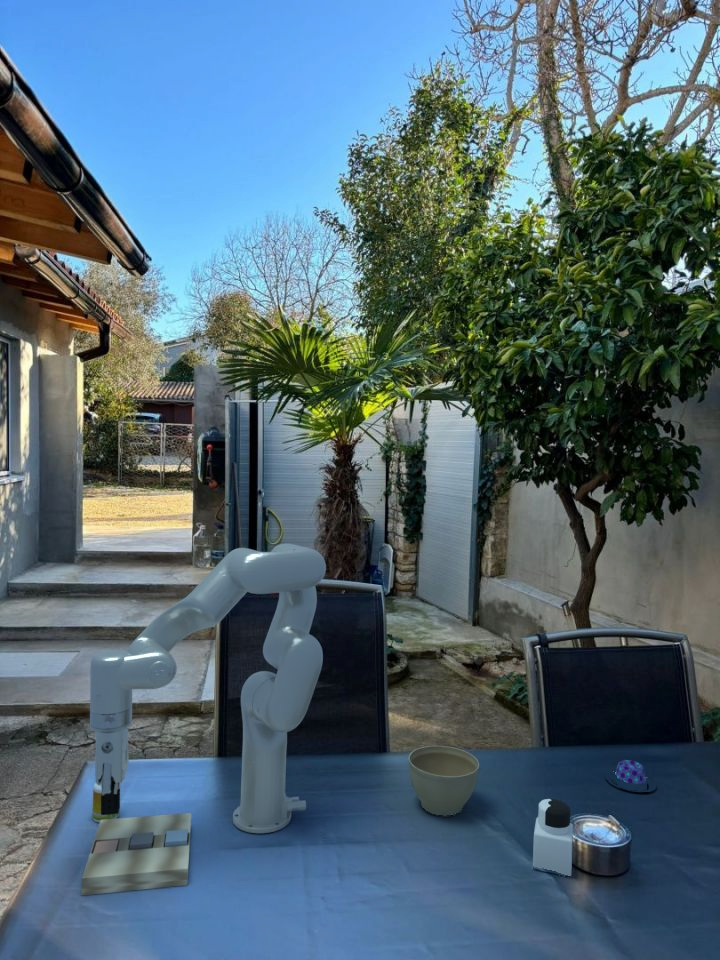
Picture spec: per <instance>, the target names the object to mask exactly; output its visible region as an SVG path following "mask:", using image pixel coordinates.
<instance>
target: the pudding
mask: <svg viewBox="0 0 720 960" xmlns="http://www.w3.org/2000/svg"><path fill="white" fill-rule="evenodd" d="M615 771H616V772H615V775H616V776H617V778H618V779H620V780H623V781H624V782H626V783H634V784H641V783H645V782H646V778H647V776H646V773H645V768H644V766H643V764H641V763H639V762H638V761H633V760H631V759H630V760H629V759H627V760H626V759H623V760H621V761H619V762H618V764H617V766H616V770H615Z"/></svg>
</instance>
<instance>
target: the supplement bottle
mask: <svg viewBox="0 0 720 960" xmlns="http://www.w3.org/2000/svg"><path fill="white" fill-rule="evenodd" d="M92 789H93V790H92V813H91V815H92V816H91V817H92V821H94V822H96V823H99V824H100V821H101V820H105V819H118V817H119V815H120V812H119V813H118V814H110V815H101V793H102V785H101V783H100V785H98V784H96V782H95V783H94V784H93V788H92ZM118 789H120V790H121V783H119V788H118Z"/></svg>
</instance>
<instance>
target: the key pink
mask: <svg viewBox="0 0 720 960" xmlns="http://www.w3.org/2000/svg"><path fill="white" fill-rule="evenodd" d="M118 841H119V840H111V841H99V842H96V845H95V849H94V852H93V853H103V852H115V851H117V850H118Z"/></svg>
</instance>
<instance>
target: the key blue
mask: <svg viewBox="0 0 720 960" xmlns="http://www.w3.org/2000/svg"><path fill="white" fill-rule="evenodd" d="M187 835H188V829H186V830H174V831H167V833H166V841H165V847H173V846H185V845H187Z"/></svg>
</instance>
